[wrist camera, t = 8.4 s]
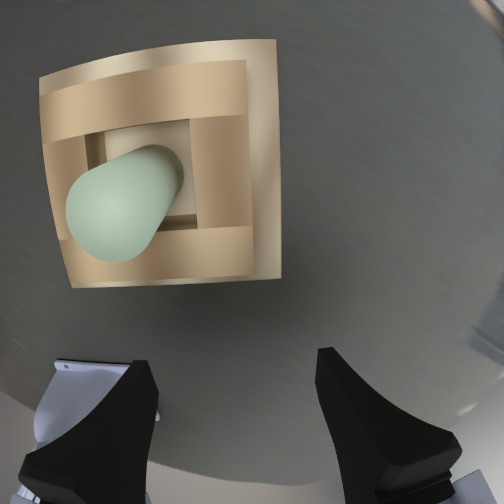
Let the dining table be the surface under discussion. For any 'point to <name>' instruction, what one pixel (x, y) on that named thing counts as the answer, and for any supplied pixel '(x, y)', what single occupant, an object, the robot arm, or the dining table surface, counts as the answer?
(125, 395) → the robot arm
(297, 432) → the dining table surface
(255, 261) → the socket block
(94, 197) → the dowel
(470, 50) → the dining table surface
